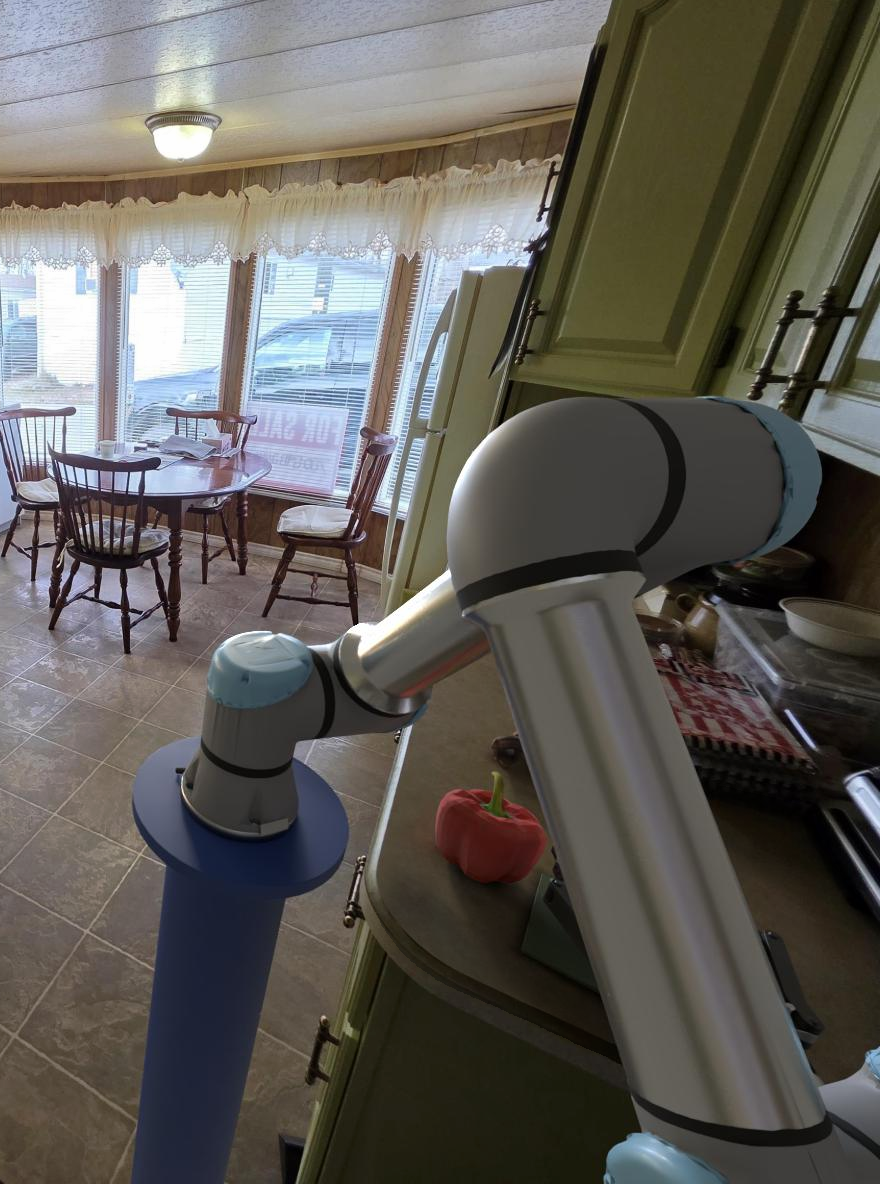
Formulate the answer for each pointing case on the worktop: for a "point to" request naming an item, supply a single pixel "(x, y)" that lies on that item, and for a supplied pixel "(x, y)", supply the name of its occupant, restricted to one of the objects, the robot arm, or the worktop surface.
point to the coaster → (555, 943)
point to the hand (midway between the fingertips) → (619, 855)
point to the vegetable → (488, 834)
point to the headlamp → (507, 749)
